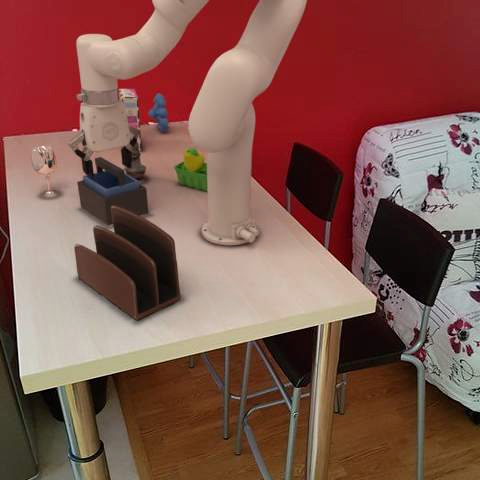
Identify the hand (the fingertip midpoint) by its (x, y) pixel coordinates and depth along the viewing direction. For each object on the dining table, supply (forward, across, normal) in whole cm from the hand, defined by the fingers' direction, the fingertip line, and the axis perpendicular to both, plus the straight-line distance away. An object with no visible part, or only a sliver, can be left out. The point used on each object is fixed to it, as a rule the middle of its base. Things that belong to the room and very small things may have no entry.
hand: (108, 170), depth 134 cm
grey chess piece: (+11, +15, +14) cm, 23 cm away
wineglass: (+11, -7, +18) cm, 23 cm away
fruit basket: (+10, +26, +1) cm, 28 cm away
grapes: (+11, +44, +46) cm, 65 cm away
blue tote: (+10, 0, 0) cm, 10 cm away
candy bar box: (+11, +29, +38) cm, 49 cm away
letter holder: (+10, -15, -32) cm, 37 cm away
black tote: (+10, 0, 0) cm, 11 cm away
